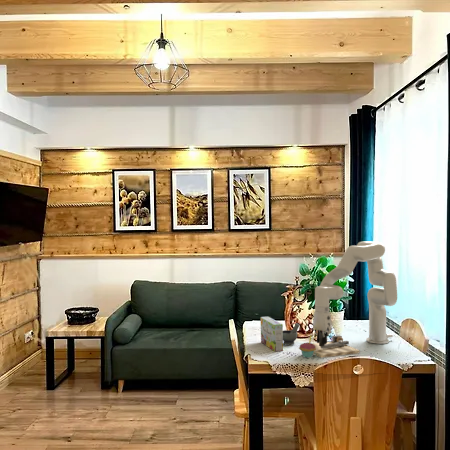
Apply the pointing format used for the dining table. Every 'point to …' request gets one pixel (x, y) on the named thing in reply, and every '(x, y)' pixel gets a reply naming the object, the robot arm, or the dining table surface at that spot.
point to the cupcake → (307, 348)
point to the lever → (331, 343)
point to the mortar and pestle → (290, 335)
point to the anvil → (335, 338)
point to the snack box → (272, 333)
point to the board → (334, 350)
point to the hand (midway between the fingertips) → (321, 342)
